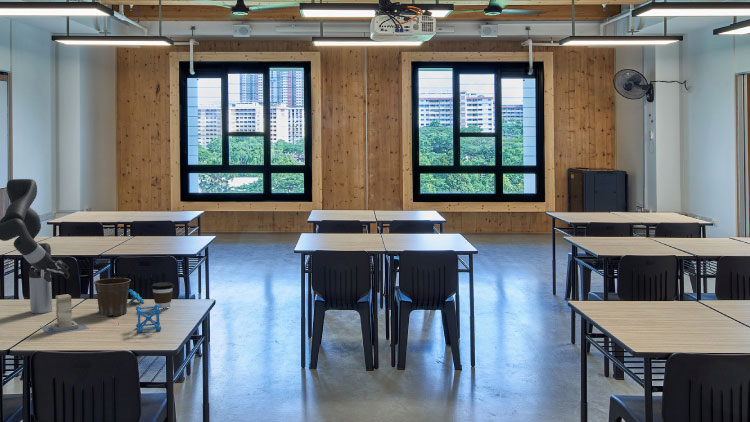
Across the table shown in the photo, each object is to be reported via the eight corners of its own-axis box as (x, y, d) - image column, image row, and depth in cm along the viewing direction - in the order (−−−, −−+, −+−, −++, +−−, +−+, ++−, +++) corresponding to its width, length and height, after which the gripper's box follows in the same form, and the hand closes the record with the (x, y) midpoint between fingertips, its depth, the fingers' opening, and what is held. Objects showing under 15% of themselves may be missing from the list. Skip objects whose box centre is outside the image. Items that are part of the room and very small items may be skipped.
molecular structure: (136, 327, 272) (135, 305, 271) (159, 325, 276) (159, 303, 275) (137, 333, 263) (136, 310, 262) (161, 331, 267) (161, 308, 266)
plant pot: (110, 308, 305) (109, 276, 304) (138, 311, 301) (137, 278, 300) (86, 316, 290) (85, 282, 288) (116, 319, 286) (115, 285, 284)
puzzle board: (40, 329, 268) (39, 323, 268) (79, 323, 279) (79, 317, 278) (48, 337, 256) (48, 331, 256) (89, 330, 266) (89, 325, 266)
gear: (143, 302, 312) (128, 288, 311) (134, 311, 311) (119, 297, 310) (147, 300, 323) (132, 287, 322) (138, 308, 322) (124, 295, 321)
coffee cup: (165, 304, 315) (165, 281, 314) (179, 307, 309) (178, 283, 308) (146, 308, 306) (146, 284, 305) (160, 311, 300) (159, 287, 299)
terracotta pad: (87, 322, 279) (87, 321, 279) (110, 319, 285) (110, 318, 285) (95, 328, 270) (95, 327, 270) (119, 324, 276) (119, 323, 276)
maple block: (56, 327, 268) (55, 295, 266) (69, 325, 271) (68, 294, 270) (59, 329, 264) (58, 297, 263) (72, 328, 267) (71, 296, 266)
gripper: (54, 245, 255) (76, 269, 267) (23, 251, 257) (47, 275, 268) (49, 259, 250) (71, 282, 261) (17, 265, 252) (41, 288, 263)
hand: (59, 278), depth 265 cm, fingers open, 8 cm apart
